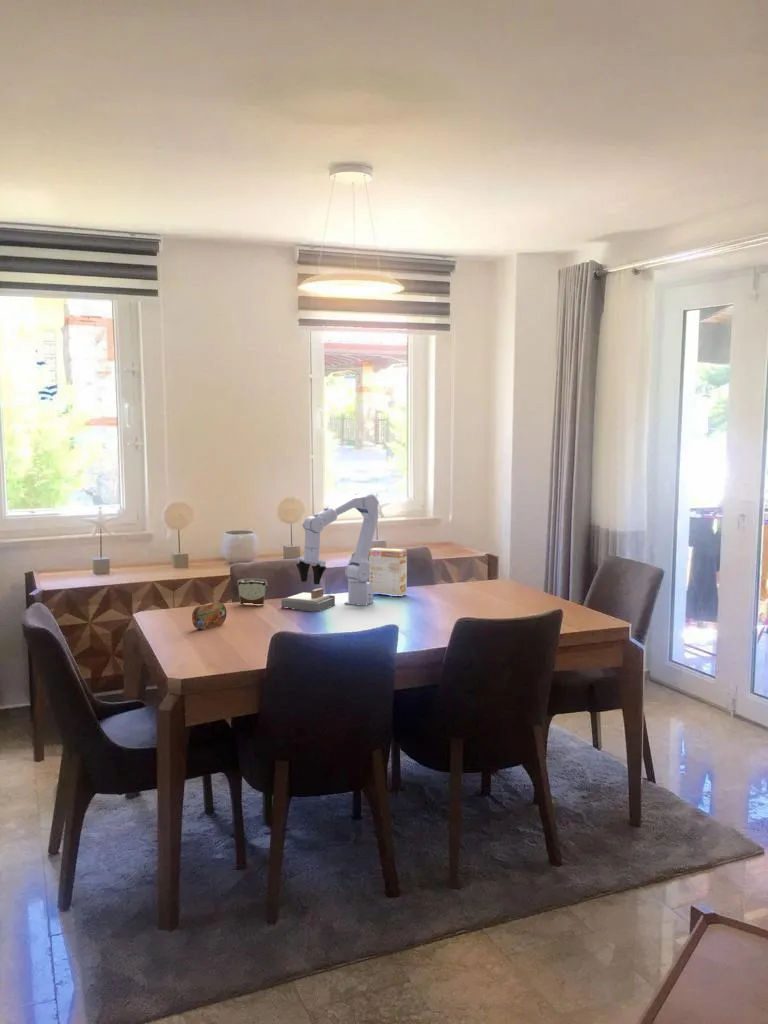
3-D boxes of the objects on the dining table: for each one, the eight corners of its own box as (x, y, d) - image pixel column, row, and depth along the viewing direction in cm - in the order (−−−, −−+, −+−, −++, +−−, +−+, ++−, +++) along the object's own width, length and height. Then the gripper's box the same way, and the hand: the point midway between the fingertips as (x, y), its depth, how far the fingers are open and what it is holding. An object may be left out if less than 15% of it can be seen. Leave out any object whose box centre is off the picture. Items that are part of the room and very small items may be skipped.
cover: (329, 597, 342) (329, 587, 342) (313, 602, 331) (313, 592, 330) (303, 594, 347) (303, 585, 347) (286, 600, 336) (286, 590, 335)
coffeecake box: (407, 595, 366) (407, 549, 364) (398, 597, 360) (399, 551, 358) (377, 591, 374) (377, 546, 372) (368, 594, 367) (368, 548, 366)
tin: (197, 631, 295) (196, 607, 294) (190, 630, 297) (190, 606, 296) (227, 624, 308) (227, 600, 307) (220, 623, 309) (220, 599, 309)
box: (334, 605, 342) (334, 595, 342) (317, 611, 330) (317, 601, 329) (299, 601, 349) (299, 592, 349) (281, 608, 336) (281, 598, 336)
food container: (270, 603, 346) (270, 578, 345) (267, 606, 340) (267, 581, 339) (240, 602, 348) (240, 577, 347) (236, 605, 341) (236, 580, 341)
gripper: (292, 546, 335) (290, 581, 336) (316, 550, 325) (314, 586, 325) (306, 545, 340) (304, 580, 341) (330, 549, 330) (328, 584, 330)
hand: (310, 582), depth 333 cm, fingers open, 7 cm apart
